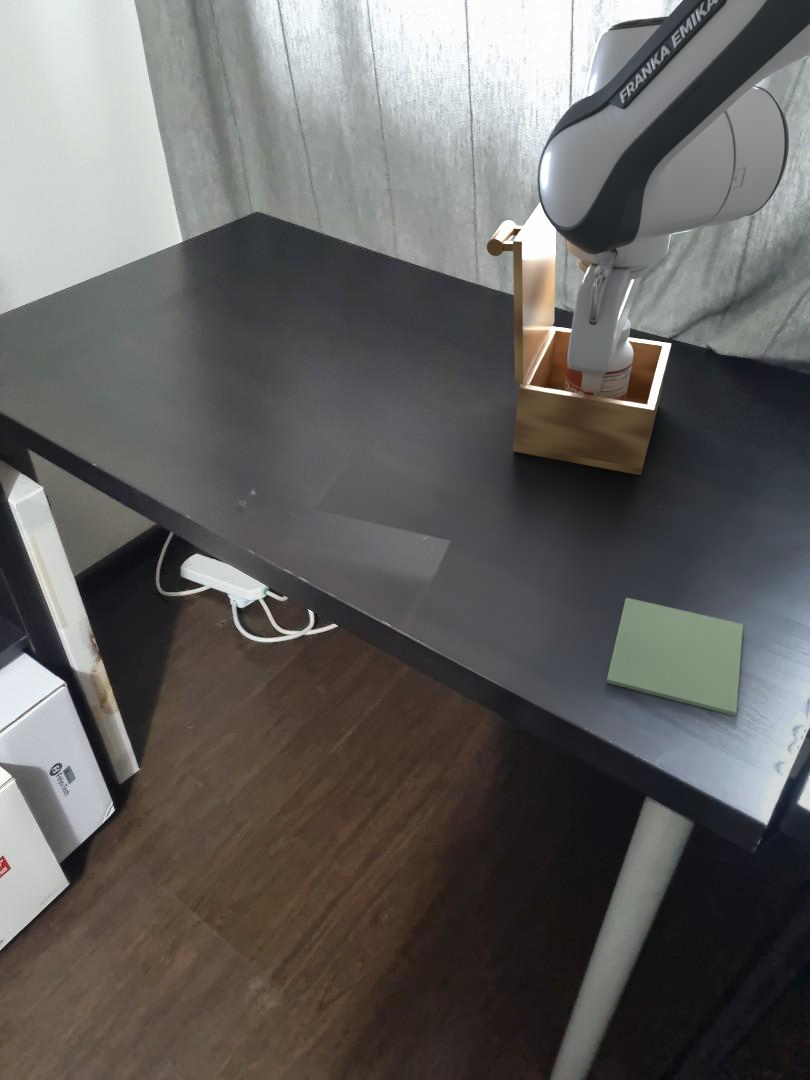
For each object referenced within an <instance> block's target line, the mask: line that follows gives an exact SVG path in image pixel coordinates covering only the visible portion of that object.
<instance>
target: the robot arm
mask: <svg viewBox="0 0 810 1080" xmlns="http://www.w3.org/2000/svg"><path fill="white" fill-rule="evenodd" d="M809 56H810V0H681V2H679V4H677V6H676V7H675V8H674V9H673V10H672V11H671V13H670V14H669V15H667V16H659V17H648V18H639V19H630V20H629V19H627V20H621V21H618V22H615V23H613V24H611V25H610V26H609V27H608V28H606V29H604V30H603V31H602V32H601V33H600V35H599V37H598V40H597V42H596V44H595V47H594V51H593V53H592V57H591V61H590V65H589V69H588V72H587V79H586V82H585V88H584V95H583V98H581V99H579V100H577V101H575V102H573V103H572V104H571V105H569V106H568V107H567V108H566V110H565V111H564V112H563V114H562V115H561V116H560V117H559V119H558V121H557V122H556V123H555V125H554V126H553V128H552V130H551V132H550V134H549V136H548V137H547V139H546V142H545V144H544V146H543V148H542V151H541V154H540V156H539V161H538V167H537V175H536V186H537V194H538V195H537V196H538V199H539V204H541V207H542V210H543V212H544V214H545V216H546V218H547V219H548V220H549V222H550V223H551V225H552V226H553V227H554V228H555V229H556V232H557V233H558V234H559V235H560V236H562V238H564V240H566V248H567V250H568V252H569V253H570V254H571V255H572V256H573V257H575V258H577V259H578V267H579V269H580V270H581V271H582V272H583V273H584V275H583V278H582V280H581V281H580V285H579V287H578V291H577V295H576V298H575V303H574V308H573V309H574V310H573V316H572V322H571V328H570V329H571V334H570V341H569V348H568V355H567V362H568V367H569V368H570V369H572V370H576V371H581V372H582V374H583V376H582V384H581V388H582V390H583V391H585V392H591V393H598V392H599V391H600V389H601V386H602V382H603V376H604V374H605V373H606V372H607V371H608V369H609V366H610V363H611V360H612V358H613V355H614V352H615V349H616V347H617V344H618V341H619V338H620V336H621V333H622V330H623V327H624V324H625V322H626V319H627V318H628V316H629V313H630V311H631V308H632V305H633V303H634V299H635V297H636V295H637V291H638V289H639V287H640V284H641V280H642V279H643V277H644V276H646V275H647V274H648V273H649V272H650V269H651V265H654V264H655V263H658V262H660V261H661V260H663V259H664V258H665V257H666V256H667V254H668V252H669V245H670V241H671V236H672V235H676V234H681V233H685V232H690V231H695V230H698V229H702V228H707V227H712V226H718V225H721V224H722V225H723V224H726V223H731V222H734V221H738V220H740V219H743V218H745V217H749V216H752V215H754V214H755V213H757V212H759V211H761V209H762V208H764V207H765V205H766V204H767V203H768V202H769V200H770V199H771V198H772V197H773V196H774V194H775V192H776V190H777V189H778V187H779V185H780V183H781V181H782V179H783V175H784V173H785V170H786V166H787V162H788V157H789V149H790V137H789V136H790V135H789V127H788V122H787V119H786V115H785V113H784V111H783V109H782V107H781V105H780V104H779V102H778V100H777V99H776V98H775V97H774V96H773V95H772V93H770V92H769V91H768V90H766V89H765V88H763V87H760V86H757V85H758V84H759V83H761V82H762V81H763V80H766V78H768V77H770V76H771V75H773V74H774V73H776V72H778V71H780V70H783V68H786V67H787V66H790V65H792V64H794V63H796V62H798V61H801V60H803V59H805V58H807V57H809ZM590 322H591V324H590Z"/></svg>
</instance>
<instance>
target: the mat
mask: <svg viewBox="0 0 810 1080" xmlns="http://www.w3.org/2000/svg"><path fill="white" fill-rule="evenodd" d="M743 633H744V623H739V622H735V621H730V620H726V619H722V618H718V617H713V616H712V617H711V616H709V615H705V614H699V613H696V612H691V611H686V610H683V609H682V610H681V609H678V608H674V607H669V606H664V605H660V604H656V603H651V602H647V601H643V600H638V599H635V598H630V597H625V600H624V604H623V608H622V613H621V617H620V621H619V625H618V629H617V634H616V639H615V642H614V647H613V651H612V656H611V659H610V660H611V661H610V665H609V669H608V673H607V679H606V684H609V685H613V686H617V687H620V688H621V687H622V688H625V689H629V690H633V691H637V692H640V693H645V694H649V695H651V696H655V697H656V696H657V697H660V698H662V699H663V698H664V699H668V700H671V701H676V702H680V703H684V704H687V705H691V706H695V707H699V708H702V709H707V710H710V711H714V712H719V713H722V714H726V715H731V716H733V717H735V716H737V713H738V712H737V711H738V701H739V700H738V699H739V685H740V671H741V659H742V648H743V647H742V646H743Z"/></svg>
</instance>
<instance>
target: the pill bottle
mask: <svg viewBox="0 0 810 1080" xmlns="http://www.w3.org/2000/svg"><path fill="white" fill-rule="evenodd" d="M631 323H632V322H631V321H630V319H629V318H628V317H627V319H626V322H625V324H624V327H623V330H622V333H621V336H620V338H619V341H618V344H617V347H616V349H615V352H614V355H613V358H612V360H611V363H610V366H609V369H608V371H607V372H606V373H605V374H604V376H603V382H602V386H601V389H600V391H599V392H598V393H591V392H585V391H583V390H582V388H581V384H582V376H583V374H582V372H581V371H576V370H572V369H570V368H569V367H568V364H567V372H566V379H565V387H564V391H567V392H573V393H579V394H585V395H591V396H597V397H603V398H609V399H615V400H621V401H625V400H626V394H627V389H628V383H629V378H630V372H631V367H632V362H633V348H632V346H631V344H630V343H629V342H628V341H627V340H628V338H630V335H631V328H632V327H631V326H632V324H631ZM590 324H591V322H590Z"/></svg>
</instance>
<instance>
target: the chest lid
mask: <svg viewBox="0 0 810 1080" xmlns="http://www.w3.org/2000/svg"><path fill="white" fill-rule="evenodd" d="M556 233H557V230H556V229H555V228H554V227H553V226H552V225H551V223H550V222H549V220H548V219H547V218H546V216H545V214H544V212H543V210H542V207H541V204H540V203H538V205H537V206H536V207H535V209H534V211H533V212H532V213H531V215H530V217H529V218H528V219H527V220H526V222H525V224H524V225H516V223H515V222H514V221H512V220H510V219H509V220H505V221H503V222H502V223H501V224H500V226H499V227H498V229H497V230H496V231H495V232H494V233H493V235H492V236H491V237H490V239H489V240H488V242H487V243H486V251H487V253H488V254H489V255H491V256H492V257H498V256H500V255H502V254H503V252H512V261H513V262H512V265H513V266H512V267H513V268H512V269H513V271H512V272H513V273H512V274H513V325H514V326H513V328H514V329H513V330H514V332H513V333H514V383H516V384H521V383H522V384H523V383H524V381H525V379H526V377H527V375H528V373H529V371H530V369H531V367H532V365H533V363H534V361H535V359H536V357H537V355H538V353H539V351H540V349H541V347H542V345H543V343H544V341H545V339H546V337H547V335H548V333H549V331H550V329H551V327H553V326H554V323H555V305H556V303H555V301H556V299H555V298H556V296H555V295H556V242H557V241H556V239H557V237H556V236H557V235H556ZM514 237H515V238H514ZM513 238H514V239H513Z"/></svg>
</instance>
